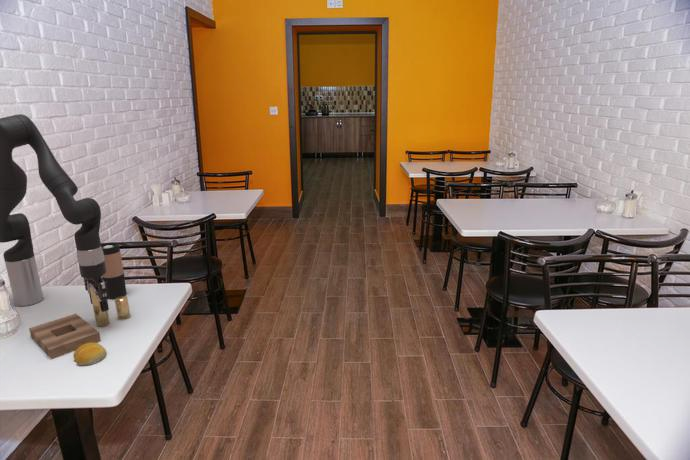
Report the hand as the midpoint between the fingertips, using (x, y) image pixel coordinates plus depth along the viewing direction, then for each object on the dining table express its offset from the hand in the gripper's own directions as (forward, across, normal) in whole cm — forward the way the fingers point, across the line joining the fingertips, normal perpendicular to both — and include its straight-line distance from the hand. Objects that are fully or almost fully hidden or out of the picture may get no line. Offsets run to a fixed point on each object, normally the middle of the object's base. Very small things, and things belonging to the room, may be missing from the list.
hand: (99, 307), depth 163 cm
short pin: (+6, 0, +7) cm, 10 cm away
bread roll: (+7, +19, -11) cm, 23 cm away
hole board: (+6, +1, -12) cm, 14 cm away
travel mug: (+6, -21, +13) cm, 26 cm away
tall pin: (+6, 0, 0) cm, 6 cm away
